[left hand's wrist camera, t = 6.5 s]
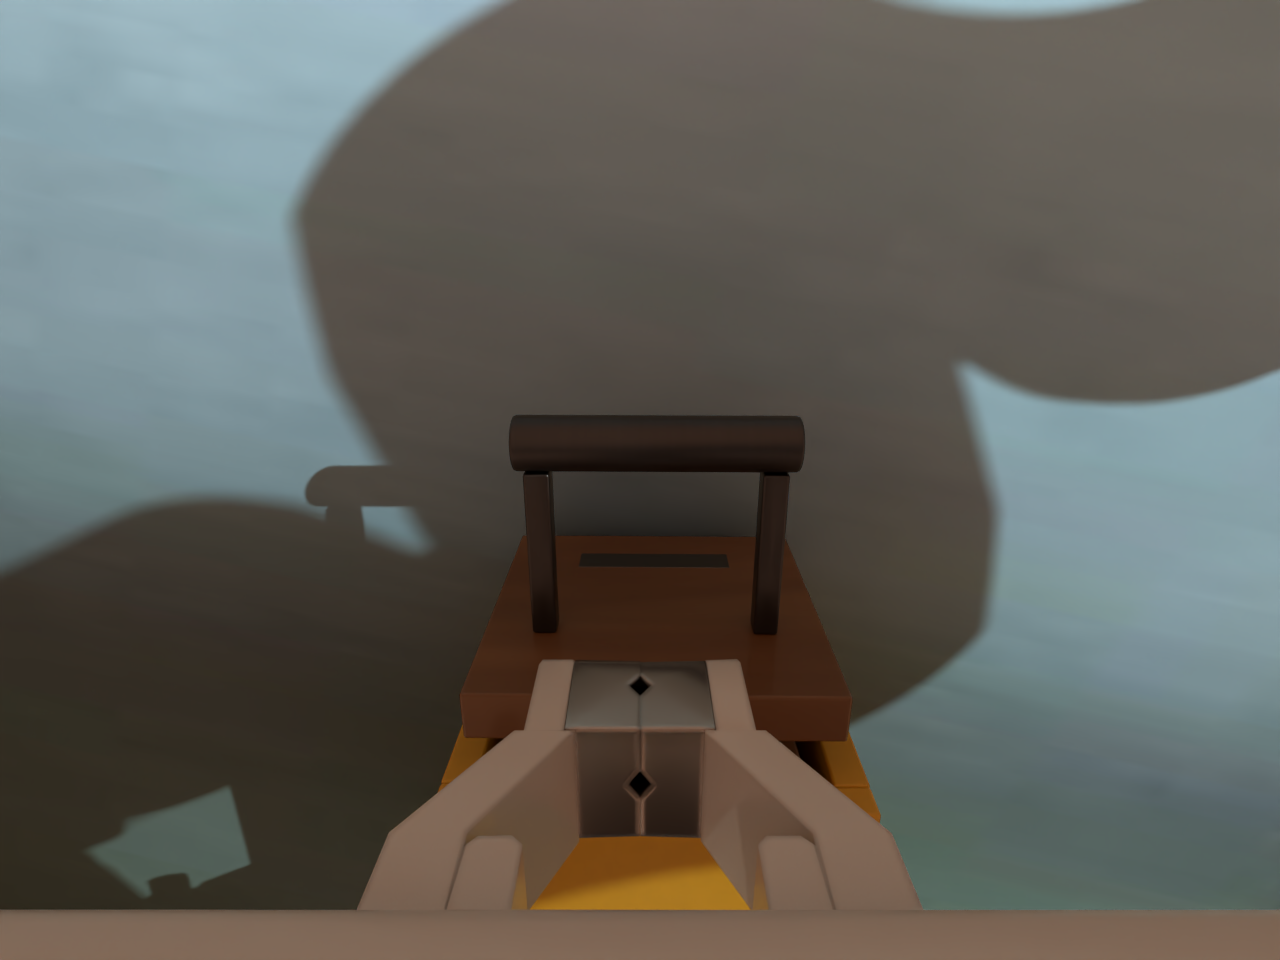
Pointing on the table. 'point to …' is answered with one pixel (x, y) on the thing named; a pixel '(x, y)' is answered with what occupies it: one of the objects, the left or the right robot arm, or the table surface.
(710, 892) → the open yellow box
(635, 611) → the drawer
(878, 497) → the table surface
